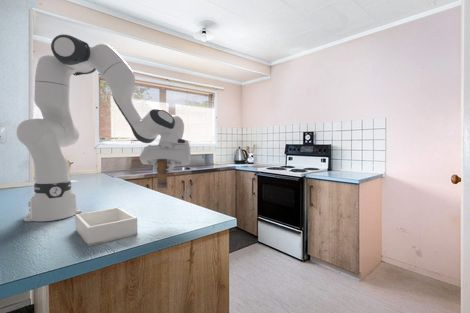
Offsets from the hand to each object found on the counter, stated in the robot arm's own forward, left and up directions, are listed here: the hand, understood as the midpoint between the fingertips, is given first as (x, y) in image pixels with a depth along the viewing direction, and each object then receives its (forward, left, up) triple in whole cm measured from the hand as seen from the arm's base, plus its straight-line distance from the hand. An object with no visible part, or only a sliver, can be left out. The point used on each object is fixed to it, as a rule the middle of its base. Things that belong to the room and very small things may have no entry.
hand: (161, 171), depth 95 cm
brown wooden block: (0, 0, -6) cm, 6 cm away
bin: (+1, -20, -19) cm, 28 cm away
